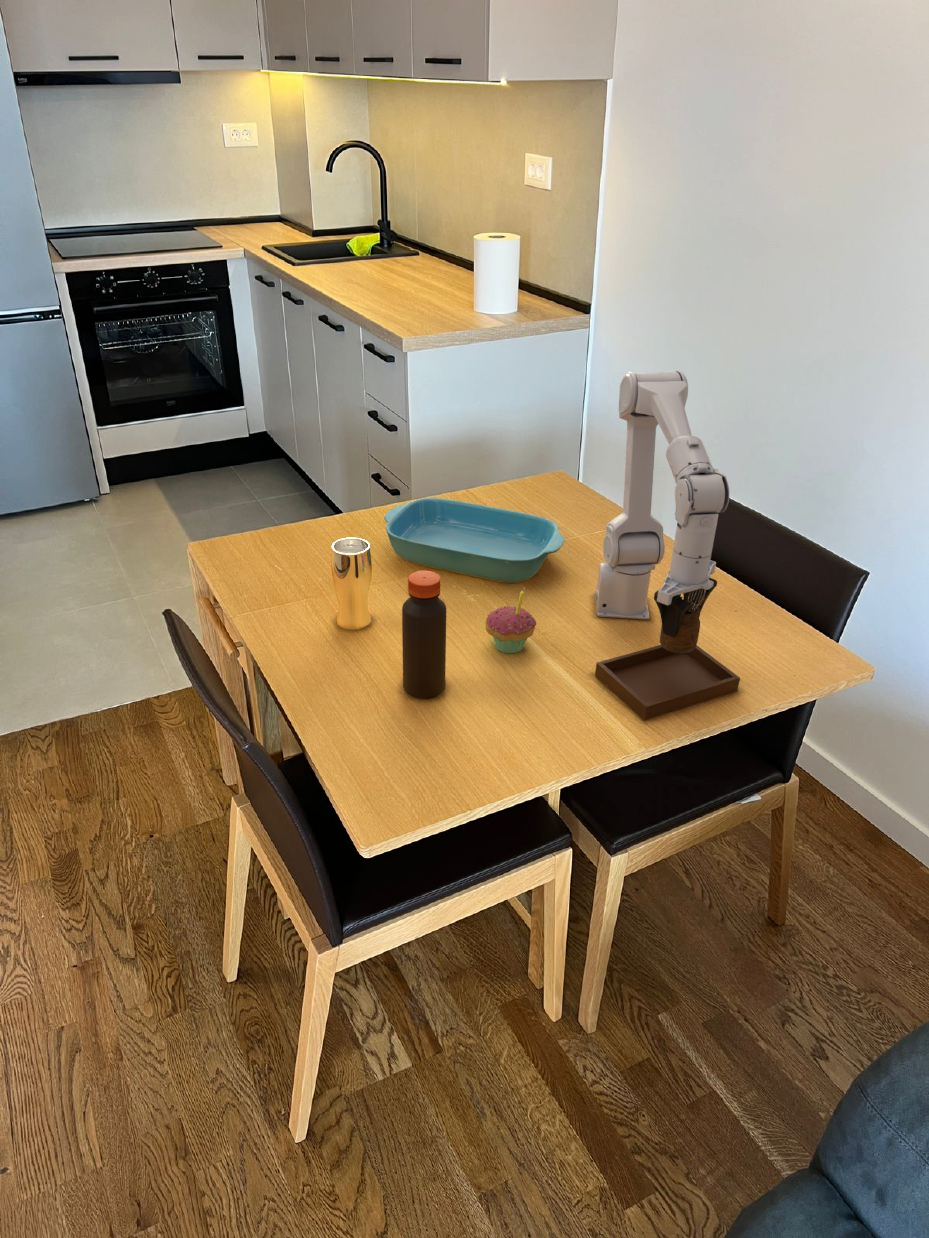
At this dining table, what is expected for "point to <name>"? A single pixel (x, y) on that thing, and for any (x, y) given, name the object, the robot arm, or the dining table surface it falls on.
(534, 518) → the casserole dish
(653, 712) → the tray
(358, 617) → the beer glass
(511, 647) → the cupcake
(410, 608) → the bottle
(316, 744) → the dining table surface
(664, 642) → the utensil holder
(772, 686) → the dining table surface
